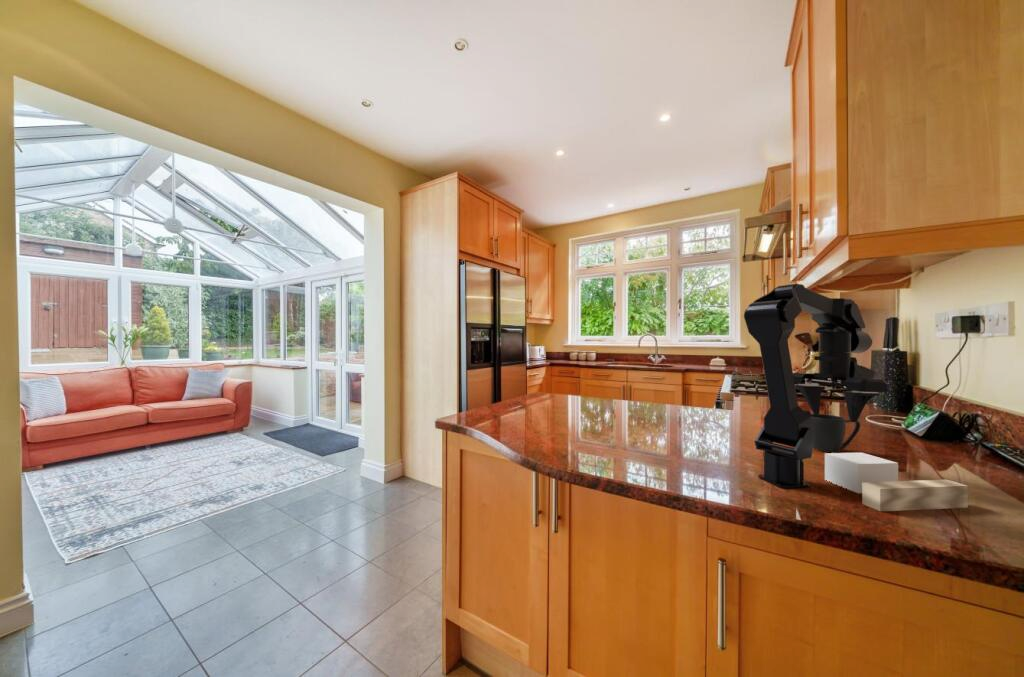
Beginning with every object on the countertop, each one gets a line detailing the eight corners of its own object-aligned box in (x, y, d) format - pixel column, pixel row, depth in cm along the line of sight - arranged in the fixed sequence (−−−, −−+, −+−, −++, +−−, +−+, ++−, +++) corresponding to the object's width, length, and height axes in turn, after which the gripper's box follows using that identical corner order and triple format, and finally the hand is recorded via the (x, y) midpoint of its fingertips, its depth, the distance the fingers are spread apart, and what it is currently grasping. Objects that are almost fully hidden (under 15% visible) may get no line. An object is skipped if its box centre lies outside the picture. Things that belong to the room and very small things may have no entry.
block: (858, 493, 72) (857, 464, 72) (824, 480, 79) (824, 453, 79) (898, 492, 73) (898, 463, 73) (861, 479, 80) (861, 452, 80)
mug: (870, 457, 95) (870, 421, 95) (816, 453, 98) (816, 418, 99) (850, 448, 103) (850, 415, 103) (801, 445, 106) (801, 412, 107)
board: (880, 511, 64) (880, 488, 64) (862, 503, 67) (862, 482, 67) (967, 507, 66) (967, 485, 66) (946, 500, 69) (946, 479, 69)
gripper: (911, 354, 77) (911, 427, 77) (829, 352, 96) (828, 411, 95) (863, 352, 76) (862, 426, 76) (789, 351, 95) (788, 410, 95)
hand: (833, 418), depth 86 cm, fingers open, 9 cm apart
